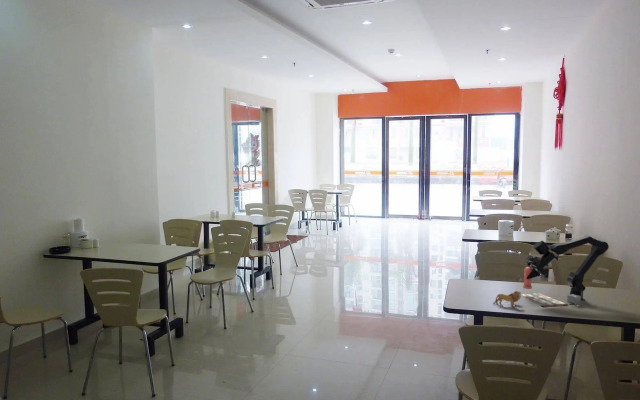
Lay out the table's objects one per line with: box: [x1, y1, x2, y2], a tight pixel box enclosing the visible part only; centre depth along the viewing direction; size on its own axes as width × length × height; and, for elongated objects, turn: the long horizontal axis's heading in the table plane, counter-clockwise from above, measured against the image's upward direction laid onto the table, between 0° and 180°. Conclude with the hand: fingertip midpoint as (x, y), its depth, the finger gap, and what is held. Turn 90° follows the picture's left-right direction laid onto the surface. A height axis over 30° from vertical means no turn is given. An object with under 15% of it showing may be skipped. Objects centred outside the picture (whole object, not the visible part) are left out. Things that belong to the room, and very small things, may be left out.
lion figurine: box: [492, 290, 522, 308], centre depth 270 cm, size 15×5×9 cm, turn 76°
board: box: [521, 292, 569, 309], centre depth 280 cm, size 16×23×1 cm
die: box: [566, 294, 582, 307], centre depth 275 cm, size 5×5×5 cm
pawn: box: [522, 266, 533, 290], centre depth 287 cm, size 5×5×13 cm
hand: (525, 277), depth 287 cm, fingers closed on pawn, 4 cm apart
